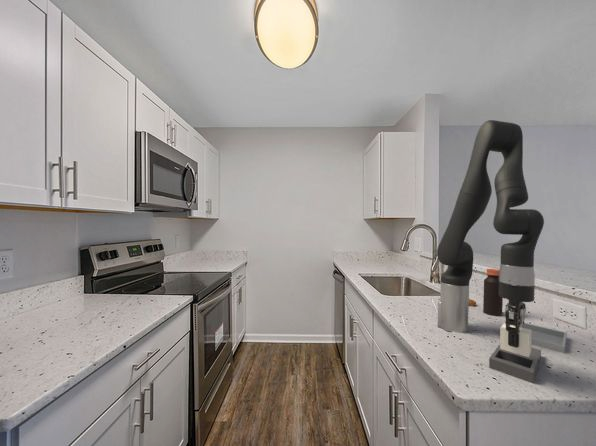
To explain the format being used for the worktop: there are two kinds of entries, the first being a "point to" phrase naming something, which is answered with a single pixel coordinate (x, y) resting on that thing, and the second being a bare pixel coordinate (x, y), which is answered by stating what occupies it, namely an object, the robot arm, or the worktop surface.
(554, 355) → the worktop surface
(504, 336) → the block
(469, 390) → the worktop surface
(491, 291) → the bottle
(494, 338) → the worktop surface
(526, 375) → the grey slotted base
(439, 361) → the worktop surface
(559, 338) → the tray
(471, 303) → the pastry
